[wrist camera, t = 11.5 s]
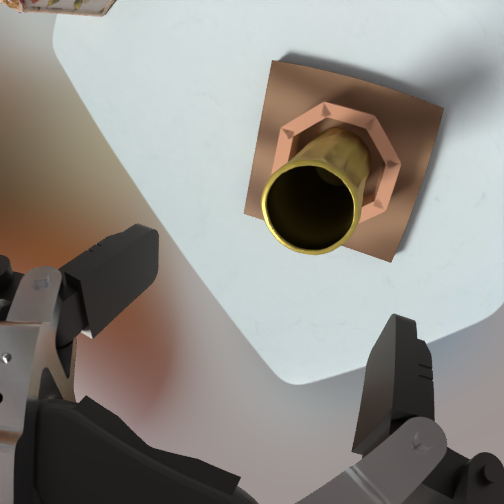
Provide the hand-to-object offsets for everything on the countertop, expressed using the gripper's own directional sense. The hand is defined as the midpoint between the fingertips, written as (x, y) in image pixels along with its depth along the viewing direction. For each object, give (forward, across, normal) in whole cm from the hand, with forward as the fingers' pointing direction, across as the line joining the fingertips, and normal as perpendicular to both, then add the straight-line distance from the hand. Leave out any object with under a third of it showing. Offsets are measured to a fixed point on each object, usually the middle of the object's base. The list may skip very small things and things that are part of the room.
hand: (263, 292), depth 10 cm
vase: (+22, 0, 0) cm, 22 cm away
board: (+23, 0, 0) cm, 23 cm away
